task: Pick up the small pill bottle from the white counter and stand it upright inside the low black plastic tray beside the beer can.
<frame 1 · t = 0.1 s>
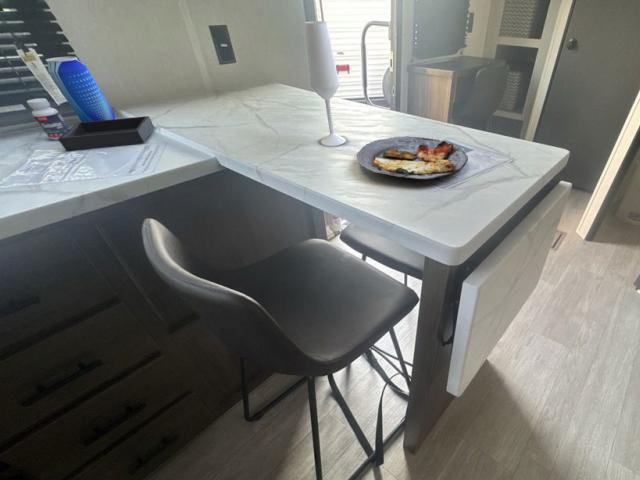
beer can: (103, 125, 94), on the countertop
champagne flute: (333, 142, 84), on the countertop
food plate: (412, 165, 73), on the countertop
tray: (114, 138, 86), on the countertop
pill bottle: (63, 137, 87), on the countertop
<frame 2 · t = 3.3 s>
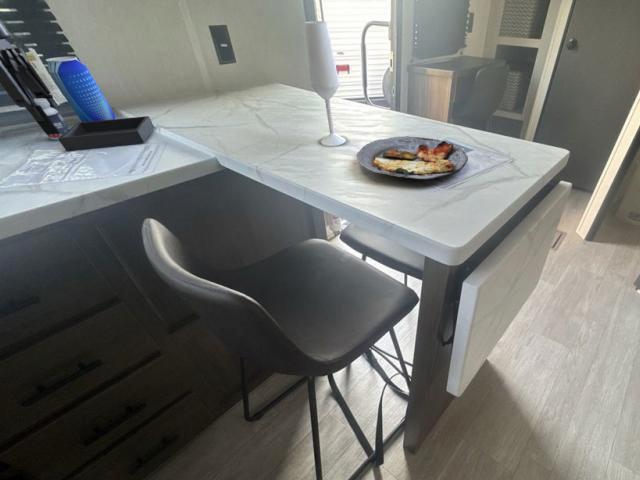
hand: (57, 130, 86), 2 cm above the countertop, tool pointing down, fingers closed on pill bottle, 5 cm apart
pill bottle: (63, 137, 87), on the countertop, touching gripper
everything else where it was.
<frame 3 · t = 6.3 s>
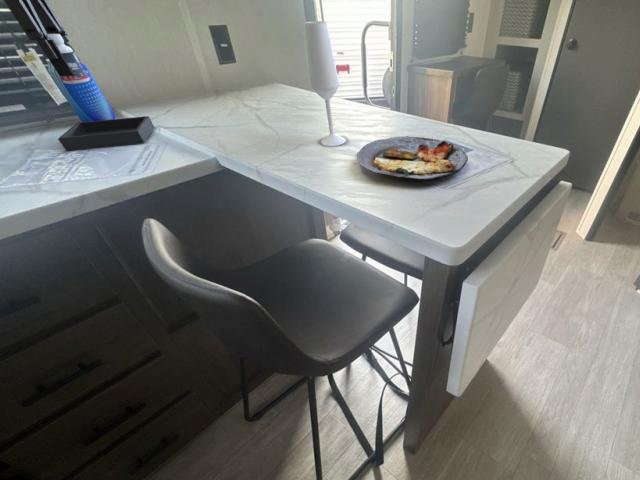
hand: (72, 73, 75), 15 cm above the countertop, tool pointing down, fingers closed on pill bottle, 5 cm apart
pill bottle: (78, 82, 77), point 13 cm above the countertop, touching gripper
everything else where it was.
when the fingers open (3 cm above the countertop, at t = 9.8 s): pill bottle stays where it is, resting on tray.
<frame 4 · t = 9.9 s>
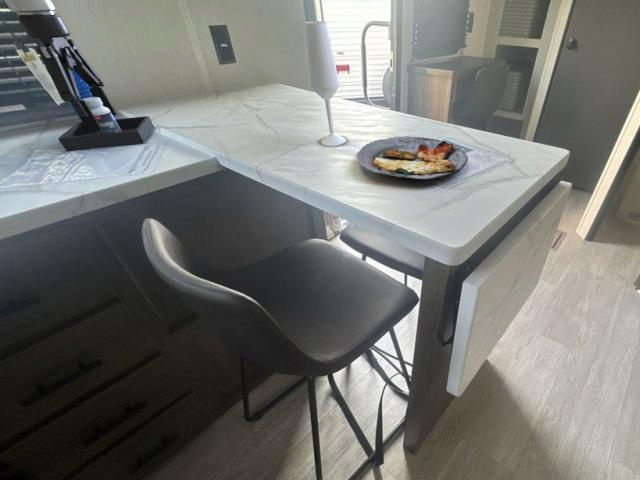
hand: (104, 122, 83), 4 cm above the countertop, tool pointing down, fingers open, 12 cm apart
pill bottle: (113, 137, 86), resting on tray
everything else where it was.
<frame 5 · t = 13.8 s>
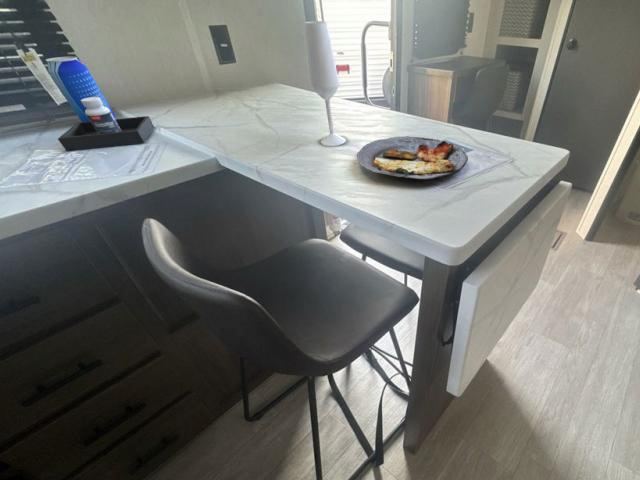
nothing on the countertop moved.
at the end: pill bottle inside the target area in the tray (0.0 cm from its centre), point 0.3 cm above the tray's base; pill bottle tilted 0°; the gripper is holding nothing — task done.
